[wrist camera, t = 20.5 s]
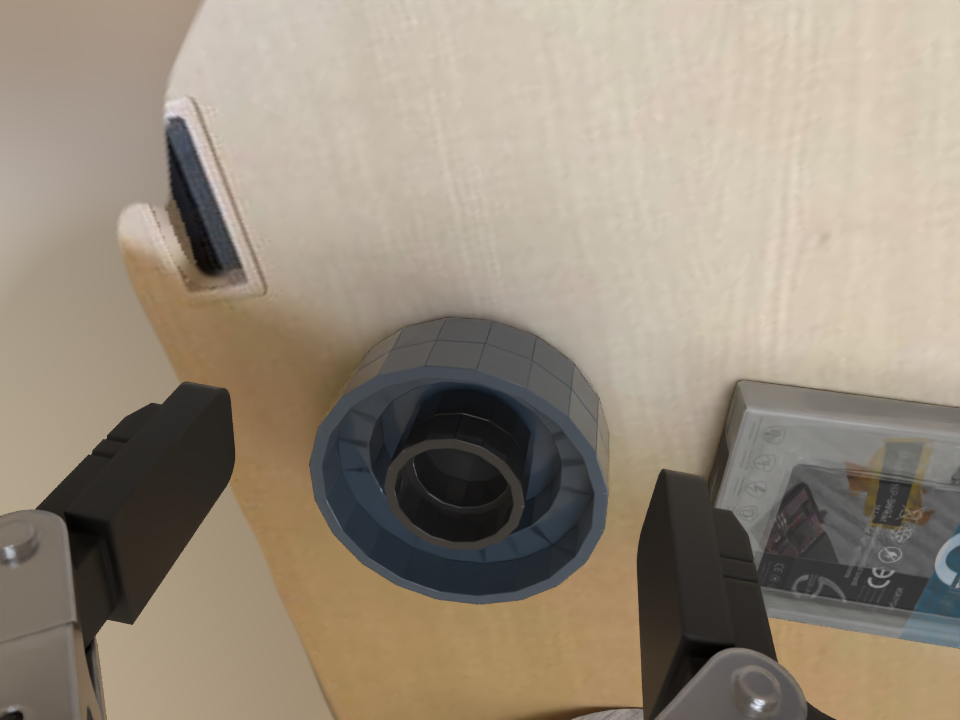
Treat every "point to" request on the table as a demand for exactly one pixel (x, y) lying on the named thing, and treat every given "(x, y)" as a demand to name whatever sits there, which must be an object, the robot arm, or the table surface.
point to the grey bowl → (554, 472)
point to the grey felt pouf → (614, 715)
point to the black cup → (461, 471)
